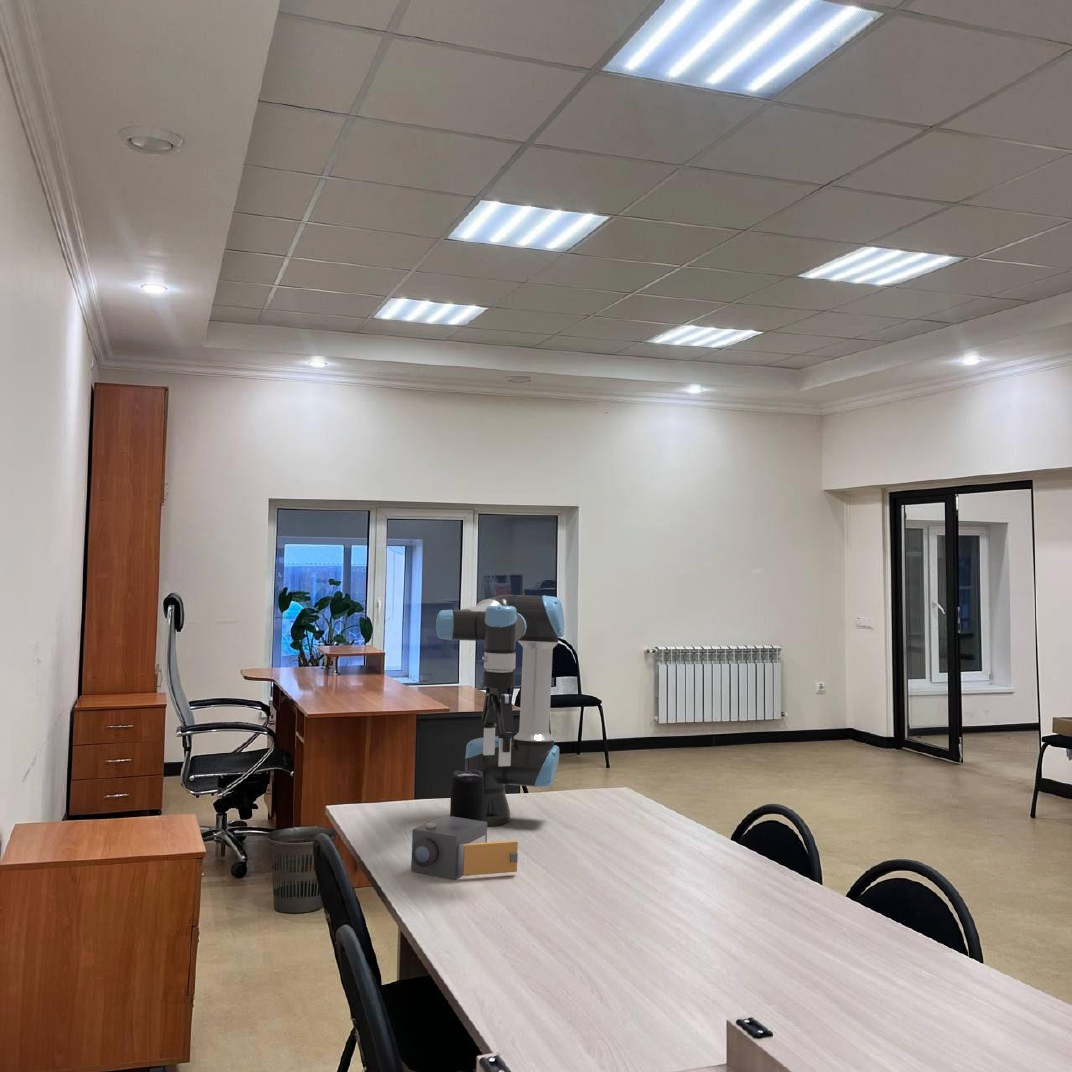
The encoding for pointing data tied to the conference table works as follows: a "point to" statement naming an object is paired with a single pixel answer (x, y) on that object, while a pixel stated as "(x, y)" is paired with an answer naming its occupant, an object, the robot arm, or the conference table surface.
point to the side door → (487, 858)
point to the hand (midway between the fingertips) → (496, 760)
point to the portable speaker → (467, 795)
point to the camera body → (443, 844)
